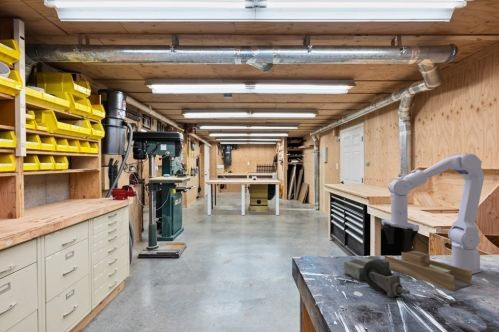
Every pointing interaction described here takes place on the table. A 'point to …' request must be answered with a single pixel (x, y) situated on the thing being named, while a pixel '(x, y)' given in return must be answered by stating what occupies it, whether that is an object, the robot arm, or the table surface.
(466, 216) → the robot arm
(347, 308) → the table surface
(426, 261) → the walnut block
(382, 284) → the caster wheel
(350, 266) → the stone block
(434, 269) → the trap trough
